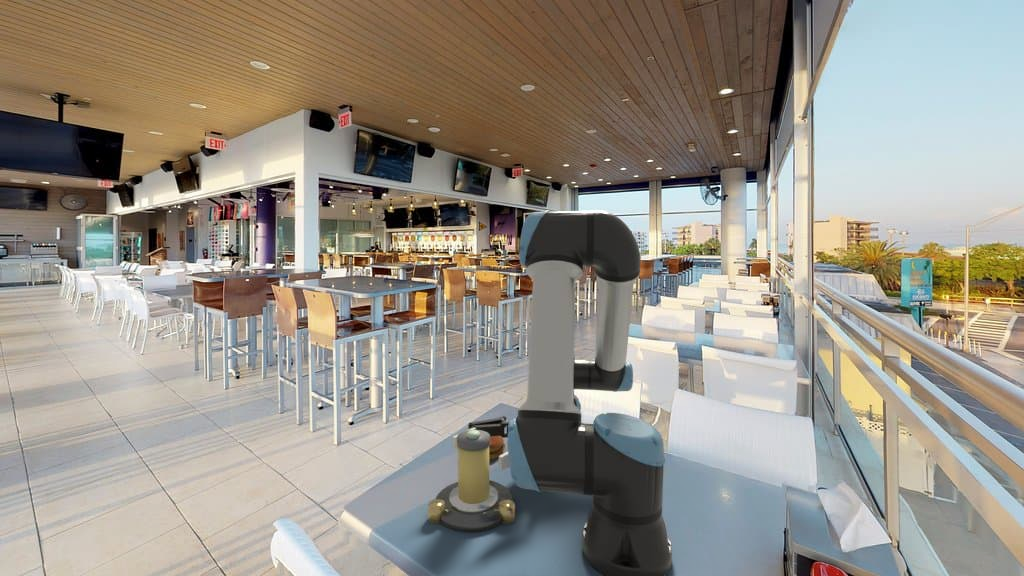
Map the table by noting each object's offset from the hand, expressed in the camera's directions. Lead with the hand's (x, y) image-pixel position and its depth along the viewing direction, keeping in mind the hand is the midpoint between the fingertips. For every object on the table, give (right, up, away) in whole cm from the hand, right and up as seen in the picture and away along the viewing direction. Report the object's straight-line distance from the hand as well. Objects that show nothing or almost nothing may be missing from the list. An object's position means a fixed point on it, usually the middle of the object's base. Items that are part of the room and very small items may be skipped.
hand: (475, 452), depth 86 cm
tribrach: (0, -11, 0) cm, 11 cm away
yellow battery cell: (0, -9, 0) cm, 9 cm away
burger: (+1, -10, +24) cm, 26 cm away
